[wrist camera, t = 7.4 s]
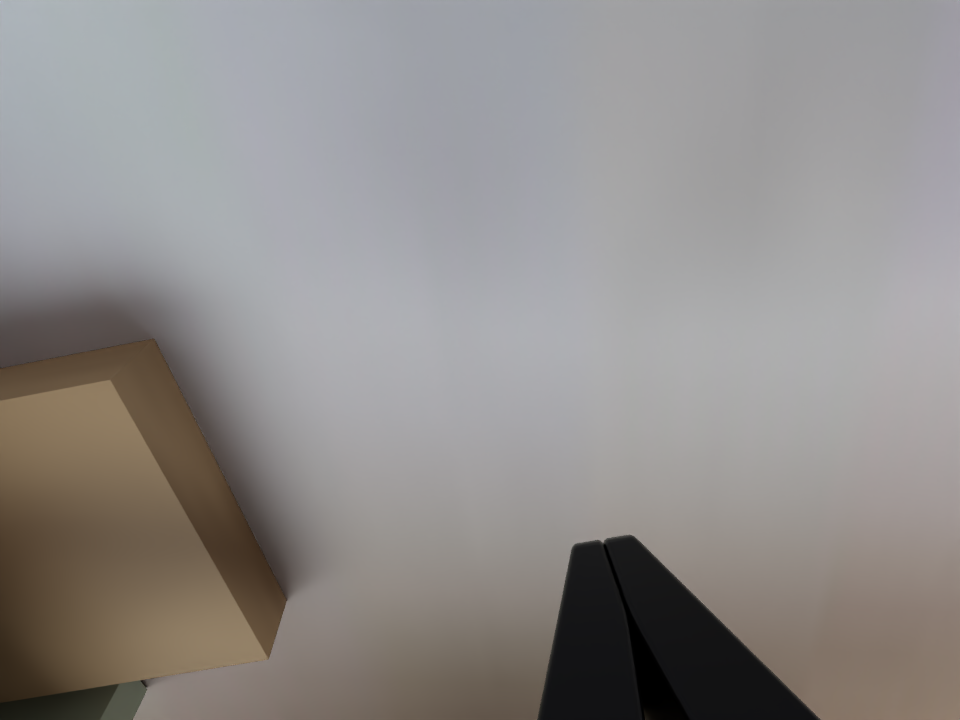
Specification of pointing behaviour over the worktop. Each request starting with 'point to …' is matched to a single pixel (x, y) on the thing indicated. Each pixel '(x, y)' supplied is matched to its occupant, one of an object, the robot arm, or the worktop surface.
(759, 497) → the worktop surface
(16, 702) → the green channel beam
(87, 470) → the board
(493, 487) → the worktop surface
